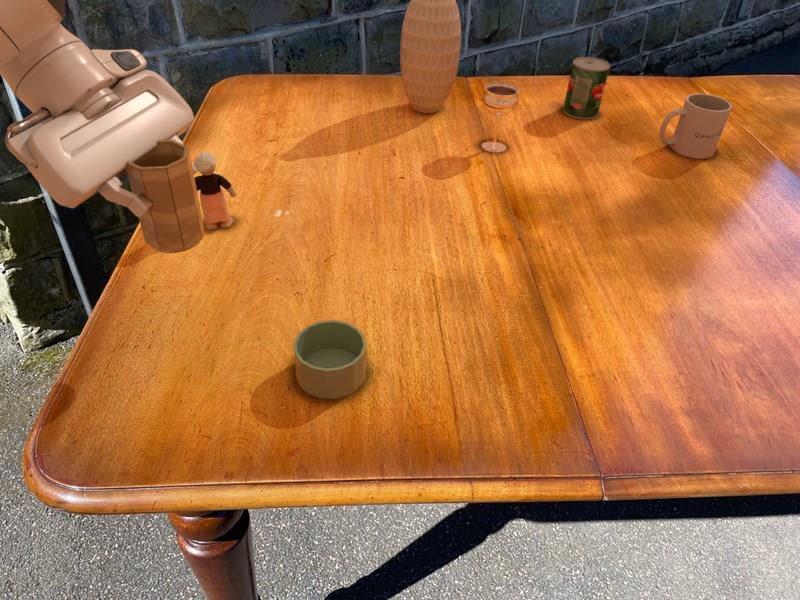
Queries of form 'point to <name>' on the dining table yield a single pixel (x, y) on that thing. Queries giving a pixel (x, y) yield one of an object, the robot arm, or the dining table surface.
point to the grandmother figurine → (212, 192)
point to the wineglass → (499, 108)
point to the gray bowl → (330, 359)
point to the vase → (430, 52)
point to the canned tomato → (586, 87)
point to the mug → (698, 125)
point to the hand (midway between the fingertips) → (170, 193)
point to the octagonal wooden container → (168, 197)
